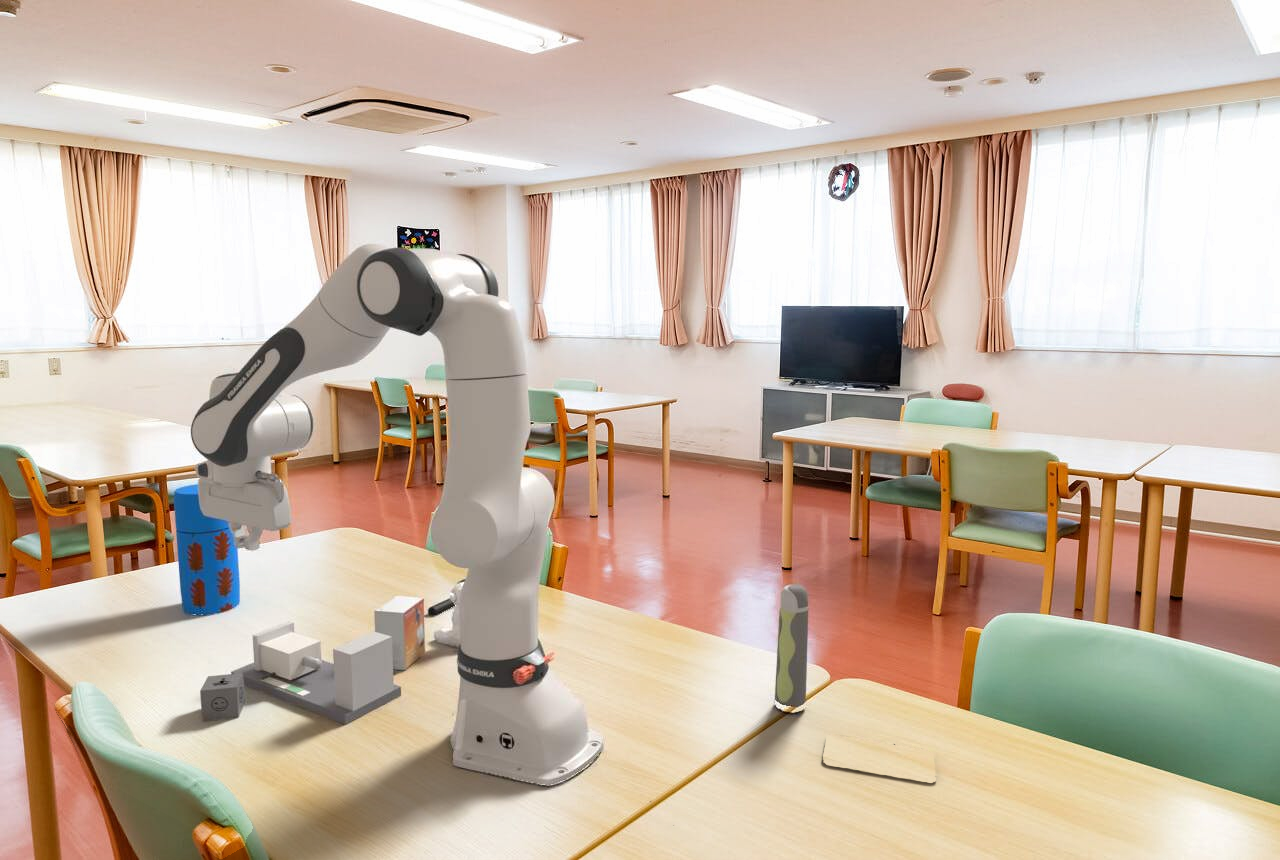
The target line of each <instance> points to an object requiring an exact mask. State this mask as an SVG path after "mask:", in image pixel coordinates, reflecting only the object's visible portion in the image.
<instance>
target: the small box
mask: <svg viewBox="0 0 1280 860" xmlns="http://www.w3.org/2000/svg"><path fill="white" fill-rule="evenodd" d="M424 601H425V599H424V597H416V596H405V595H395V596H394V597H393V598H392V599H391V600H389V601H387V602H386V603H385V604H383V605H382V606H380V607H379V608H377V609H375V610H373V611H374V612H373V613H374V616H373V617H374V632H378V633H381V634H384V635H388V636H391V637H392V653H393V670H397V671H399V670H400V671H406V670H407V669H408V668H409V667H410V666H412V665H413V663H415V662H416V661H417V660H418V659H419V658H421V657H422V656H423V655H425V653H426V643H425V642H426V639H425V638H426V637H425V602H424Z"/></svg>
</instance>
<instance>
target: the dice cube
mask: <svg viewBox="0 0 1280 860" xmlns="http://www.w3.org/2000/svg"><path fill="white" fill-rule="evenodd" d="M245 694H246V693H245V685H244V678H243V673H237V674H231V673H230V674H229V673H227V674H219V675H209V676H207V678H206V679H205V681H204V684H203V685H202V687H201V688H200V690H199V695H200V706H201V707H200V708H201V709H200V710H201V721H202V722H209V721H210V722H211V721H219V720H228V719H237V718H238V719H239V718H240V716H241V713H242V711H243V708H244V706H245V703H246V700H245V699H246V698H245V697H246V695H245Z"/></svg>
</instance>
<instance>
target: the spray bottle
mask: <svg viewBox="0 0 1280 860" xmlns="http://www.w3.org/2000/svg"><path fill="white" fill-rule="evenodd" d="M778 615H779V617H778V632H777V634H778V635H777V649H776V651H777V652H776V665H775V666H776V670H775V686H774V687H775V688H774V701H775V700H776V701H777V702H779V703H780V704H782V705H786V706H791V707H799V706H801V705H803V704H804V703H805V702H806V703H807V701H806V700H807V678H808V677H807V675H808V674H807V673H808V672H807V671H808V638H809V596H808V591H807V589H806V587H804V586H803V585H801V584H797V583H795V584H794V583H793V584H788V585H786V586H784V587H783V588H782V589H781V592H780V607H779V613H778Z"/></svg>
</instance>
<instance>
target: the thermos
mask: <svg viewBox="0 0 1280 860" xmlns="http://www.w3.org/2000/svg"><path fill="white" fill-rule="evenodd" d="M173 506H174V507H173V509H174V519H175V534H176V535H175V536H176V547H177V548H176V549H177V560H178V562H177V563H178V573H179V576H178V578H179V588H180V596H181V597H180V599H181V604H182V611H183V610H184V611H183V613H184V612H185V613H184V614H187V613H188V614H187V615H189V614H196V615H195V616H208V615H207V614H211V615H215V614H214V613H218V614H221V613H220V612H222V613H225V612H224V611H226V612H228V611H231V610H233V609H235V608H237V607H238V606H239V605H240V603H239V602H241V601H240V600H241V597H240V596H241V589H240V588H241V587H240V586H241V584H240V568H239V566H240V565H239V550H238V549H239V547H236V546H235V544H234V537H233V535H232V533H231V531H230V529H229V524H228V521H225V520H221V519H216V518H212V517H208V516H204V514H203V513H202V511H201V509H200V504H199V495H198V483H196V484H190V485H189V484H188V485H186V486H181V487H178V488H176V489H175V490H174V492H173ZM237 605H238V606H237ZM236 606H237V607H236ZM234 607H235V608H234ZM232 608H233V609H232ZM230 609H231V610H230ZM227 610H228V611H227ZM201 614H203V615H201Z"/></svg>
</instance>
